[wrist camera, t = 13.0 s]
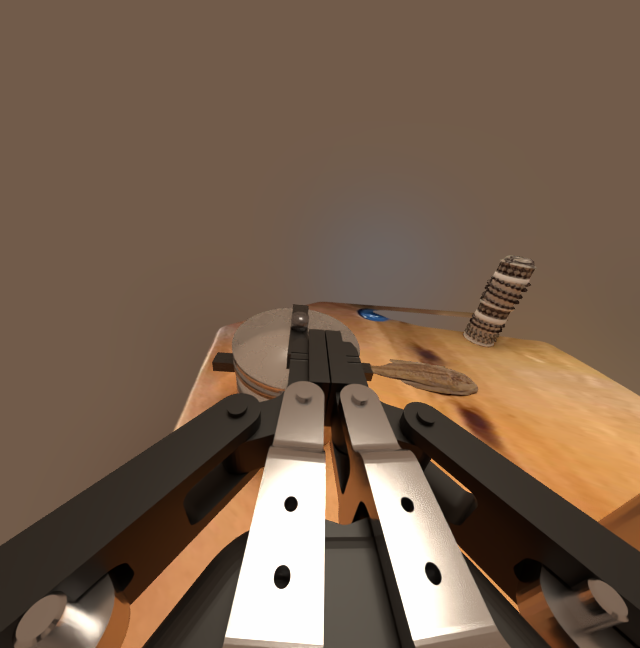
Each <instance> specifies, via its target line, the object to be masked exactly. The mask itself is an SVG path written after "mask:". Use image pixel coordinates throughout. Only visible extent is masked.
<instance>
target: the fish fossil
mask: <svg viewBox="0 0 640 648" xmlns="http://www.w3.org/2000/svg"><path fill="white" fill-rule="evenodd" d="M390 361H391V362H393V363H389V364H387V365H383V366H371V365H370V366H371V368H372V371H373V373H375V374H378V375H381V376H384V377H389V378H392V379H399V380H402V382H404V383H405V384H408V385H411V386H413V387H415V388H419V389H424V390H428V391H434V392H439V393H446V394H459V395H471V394H472V393H476V392H477V391H478V387H477V385H476V384H475V383H474V382H473V381H472V380H471V379H470V378H469V377H467V376H466V375H465V374H462V373H459V372H457V371H454V370H452V369H448V368H445V366H444V367H443V366H439V365H437V366H433V365H430V364H425V363H419V362H411V361H403V360H393V359H390Z"/></svg>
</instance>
